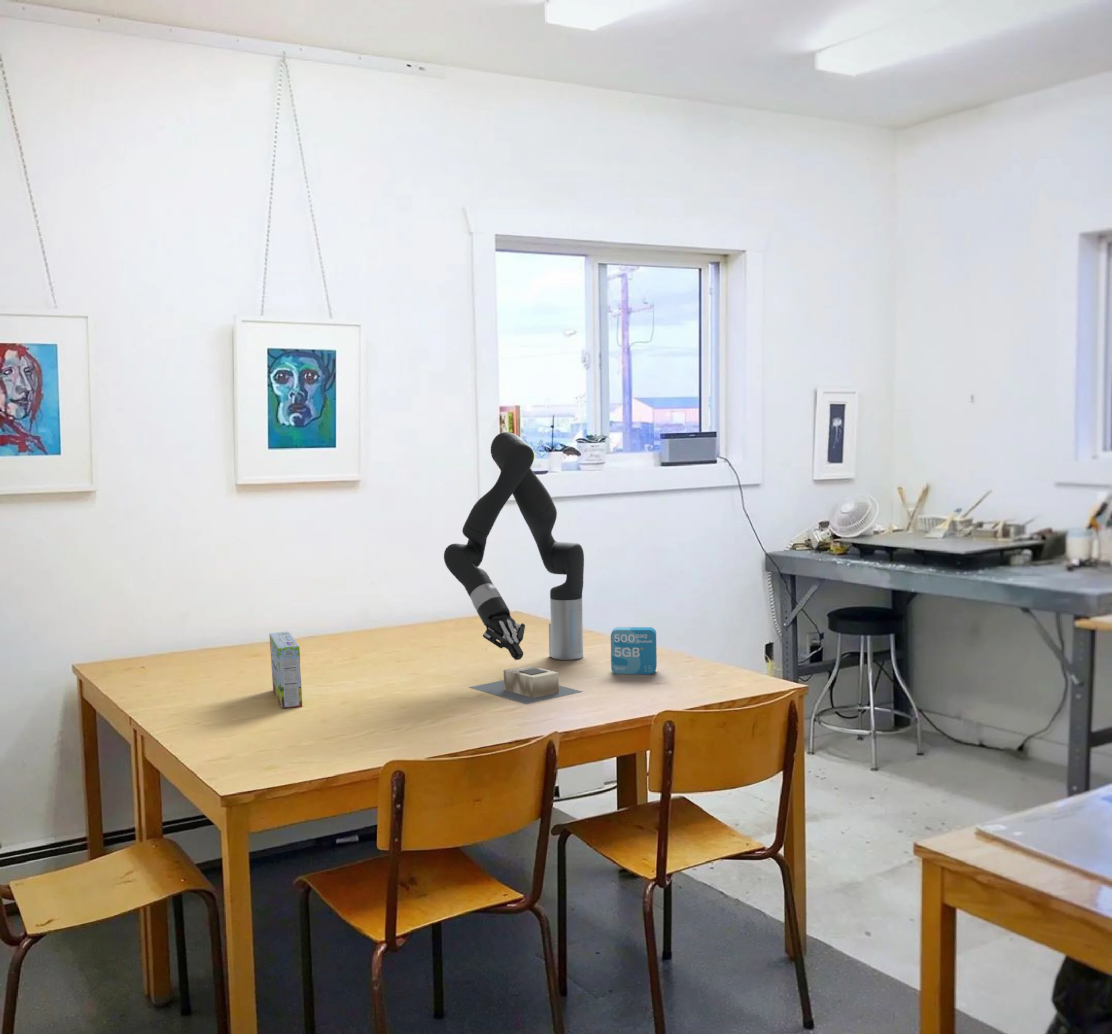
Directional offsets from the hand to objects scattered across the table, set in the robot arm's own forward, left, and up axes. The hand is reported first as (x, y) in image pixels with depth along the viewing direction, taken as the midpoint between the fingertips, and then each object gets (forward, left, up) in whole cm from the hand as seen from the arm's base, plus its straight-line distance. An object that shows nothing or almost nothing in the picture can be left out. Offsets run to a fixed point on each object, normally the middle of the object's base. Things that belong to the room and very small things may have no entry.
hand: (519, 657), depth 275 cm
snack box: (-33, -48, -8) cm, 59 cm away
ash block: (-1, 0, -5) cm, 5 cm away
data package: (+6, +34, -8) cm, 35 cm away
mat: (+2, 0, -8) cm, 8 cm away
